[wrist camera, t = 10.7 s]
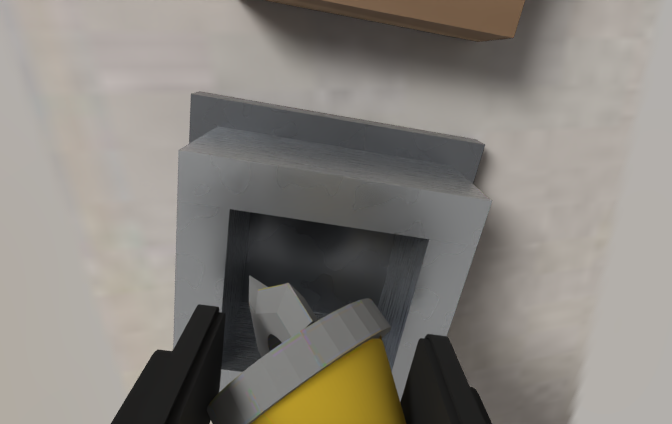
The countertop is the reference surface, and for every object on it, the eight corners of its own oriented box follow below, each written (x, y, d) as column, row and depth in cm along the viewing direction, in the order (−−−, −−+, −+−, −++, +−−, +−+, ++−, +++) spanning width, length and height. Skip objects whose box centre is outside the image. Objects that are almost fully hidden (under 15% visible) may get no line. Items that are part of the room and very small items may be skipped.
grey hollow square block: (199, 91, 15) (140, 106, 10) (475, 139, 16) (537, 173, 11) (189, 326, 19) (143, 413, 14) (410, 354, 20) (435, 446, 15)
